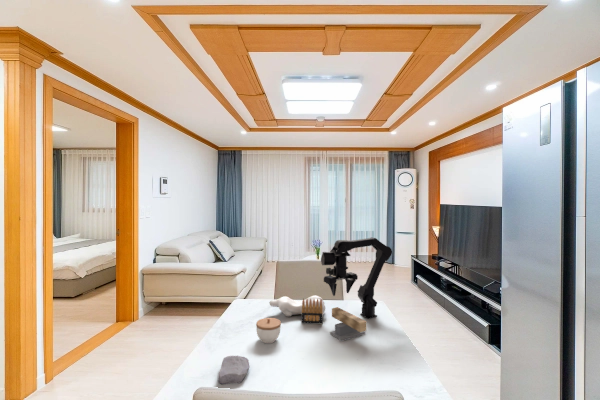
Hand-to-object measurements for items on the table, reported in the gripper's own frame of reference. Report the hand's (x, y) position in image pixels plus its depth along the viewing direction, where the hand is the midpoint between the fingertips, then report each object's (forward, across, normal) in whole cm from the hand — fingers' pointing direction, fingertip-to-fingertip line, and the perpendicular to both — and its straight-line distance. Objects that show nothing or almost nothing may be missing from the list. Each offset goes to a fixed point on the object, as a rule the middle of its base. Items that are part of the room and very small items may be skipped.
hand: (340, 294), depth 154 cm
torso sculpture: (+13, +16, -17) cm, 27 cm away
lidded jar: (+13, +43, +3) cm, 45 cm away
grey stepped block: (+12, +9, +16) cm, 22 cm away
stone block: (+13, +64, +19) cm, 68 cm away
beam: (+8, +9, +16) cm, 20 cm away
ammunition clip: (+13, +16, -3) cm, 21 cm away
